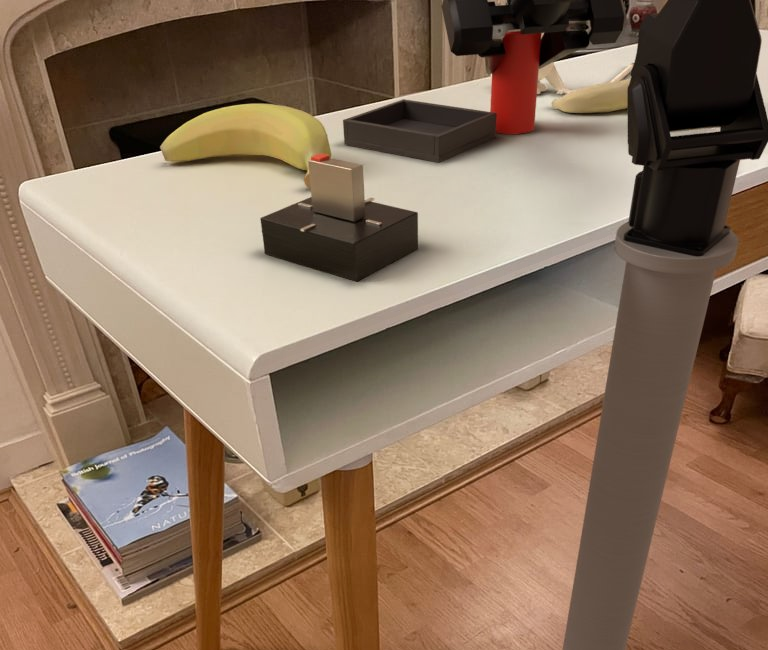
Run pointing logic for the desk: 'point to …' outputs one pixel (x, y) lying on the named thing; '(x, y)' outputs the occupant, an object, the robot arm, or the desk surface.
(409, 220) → the black rectangular block
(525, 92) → the ketchup bottle
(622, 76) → the pale wooden rod
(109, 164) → the desk surface
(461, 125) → the tray
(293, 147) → the banana
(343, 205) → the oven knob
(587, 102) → the fruit
